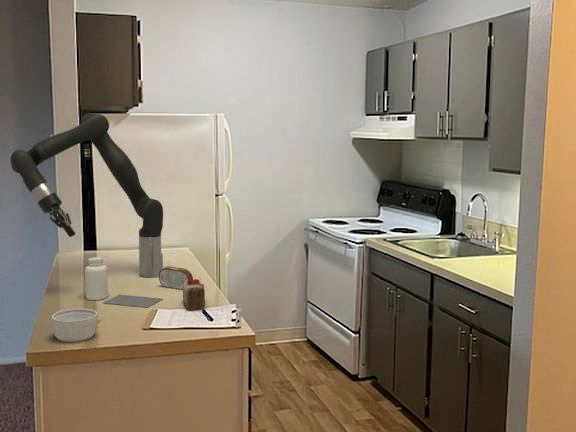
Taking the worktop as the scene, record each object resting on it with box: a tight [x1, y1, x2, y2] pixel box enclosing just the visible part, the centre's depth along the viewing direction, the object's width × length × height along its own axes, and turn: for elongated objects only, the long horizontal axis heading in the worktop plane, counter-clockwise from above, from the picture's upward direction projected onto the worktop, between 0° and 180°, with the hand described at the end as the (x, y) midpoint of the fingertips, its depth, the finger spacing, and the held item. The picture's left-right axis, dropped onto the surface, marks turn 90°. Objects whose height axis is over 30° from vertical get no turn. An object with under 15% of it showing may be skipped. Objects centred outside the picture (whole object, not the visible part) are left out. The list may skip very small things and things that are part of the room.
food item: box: [182, 278, 206, 312], centre depth 227 cm, size 14×8×10 cm, turn 17°
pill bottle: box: [84, 256, 109, 301], centre depth 235 cm, size 8×8×15 cm
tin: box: [158, 266, 194, 291], centre depth 251 cm, size 15×3×8 cm, turn 65°
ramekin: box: [51, 307, 98, 343], centre depth 192 cm, size 13×13×7 cm
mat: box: [102, 294, 163, 309], centre depth 232 cm, size 18×12×1 cm, turn 75°
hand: (72, 235), depth 236 cm, fingers closed
